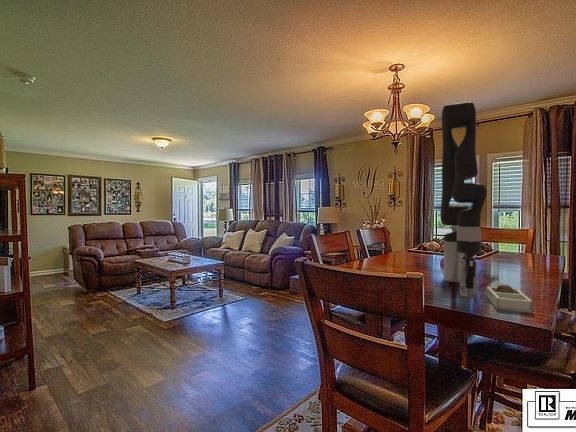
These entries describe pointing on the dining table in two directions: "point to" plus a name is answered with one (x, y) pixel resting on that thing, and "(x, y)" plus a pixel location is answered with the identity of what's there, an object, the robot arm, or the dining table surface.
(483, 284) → the dining table surface
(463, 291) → the energy drink
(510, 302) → the caddy
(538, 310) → the dining table surface
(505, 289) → the walnut ball
